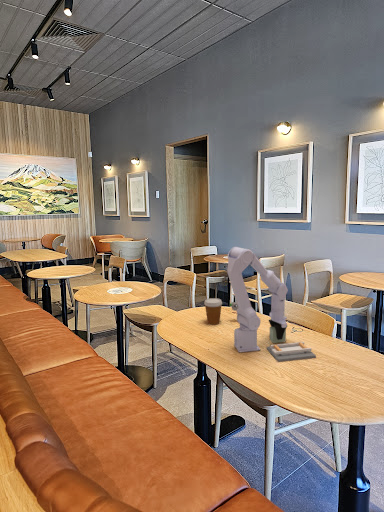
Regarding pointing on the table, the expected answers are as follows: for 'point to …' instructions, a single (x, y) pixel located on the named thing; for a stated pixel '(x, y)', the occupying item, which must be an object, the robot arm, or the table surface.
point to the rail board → (290, 351)
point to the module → (274, 337)
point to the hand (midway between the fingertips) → (277, 337)
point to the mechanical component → (233, 306)
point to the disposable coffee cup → (213, 310)
